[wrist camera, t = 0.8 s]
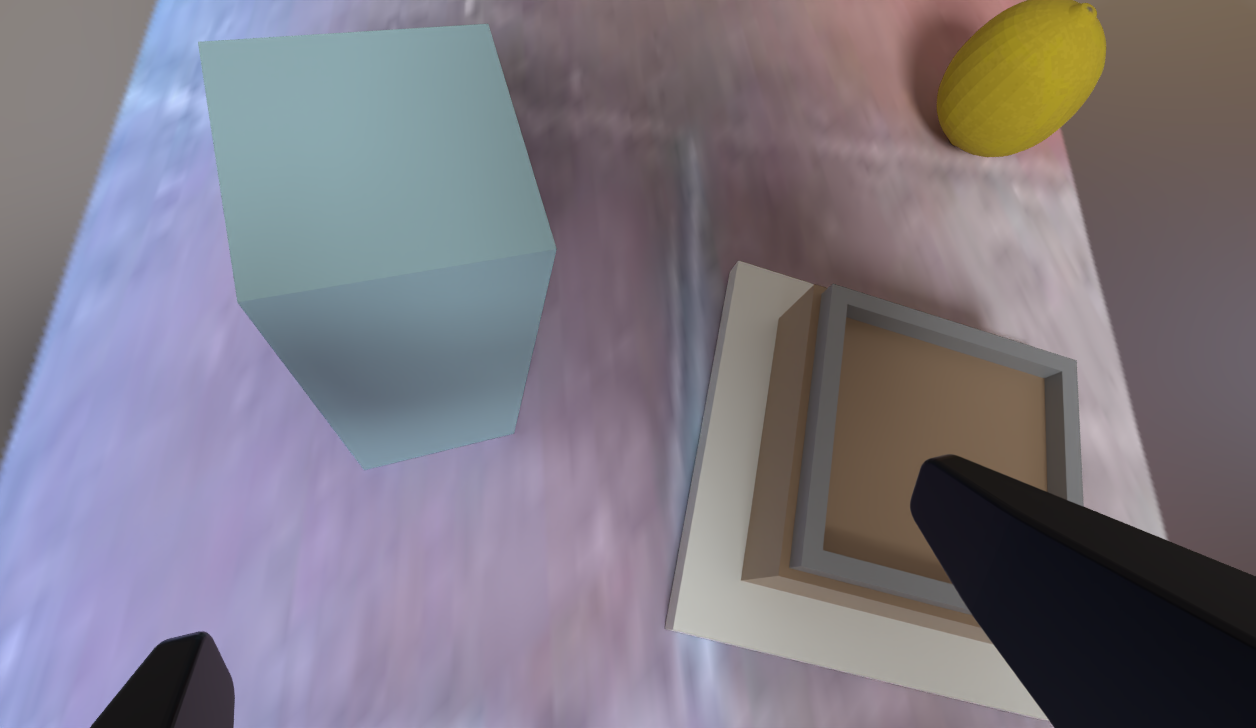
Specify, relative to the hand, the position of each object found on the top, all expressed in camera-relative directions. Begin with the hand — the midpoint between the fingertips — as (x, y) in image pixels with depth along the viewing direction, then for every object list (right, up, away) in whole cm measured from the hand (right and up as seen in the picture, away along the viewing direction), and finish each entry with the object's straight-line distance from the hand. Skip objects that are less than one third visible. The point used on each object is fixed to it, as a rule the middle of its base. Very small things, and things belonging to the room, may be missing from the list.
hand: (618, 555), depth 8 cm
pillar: (-7, +2, +15) cm, 17 cm away
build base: (+10, -2, +17) cm, 20 cm away
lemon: (+16, +13, +25) cm, 33 cm away
